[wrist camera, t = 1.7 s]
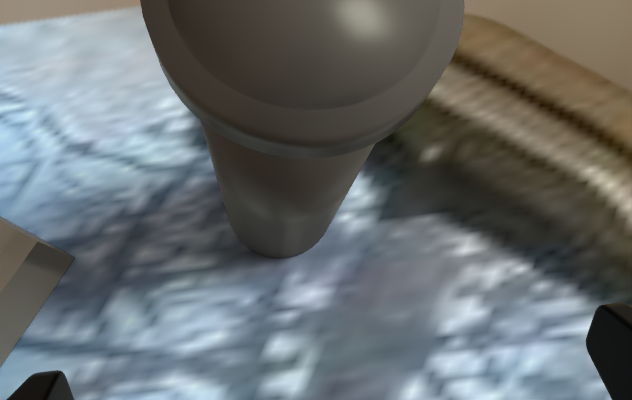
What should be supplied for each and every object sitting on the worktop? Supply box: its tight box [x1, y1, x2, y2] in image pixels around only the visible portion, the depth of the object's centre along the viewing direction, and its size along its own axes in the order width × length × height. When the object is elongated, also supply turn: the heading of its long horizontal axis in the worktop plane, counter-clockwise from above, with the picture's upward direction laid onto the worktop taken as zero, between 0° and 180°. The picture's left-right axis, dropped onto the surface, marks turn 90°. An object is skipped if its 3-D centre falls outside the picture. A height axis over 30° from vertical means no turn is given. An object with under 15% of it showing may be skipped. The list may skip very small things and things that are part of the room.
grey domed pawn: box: [140, 0, 464, 258], centre depth 15 cm, size 5×5×14 cm
